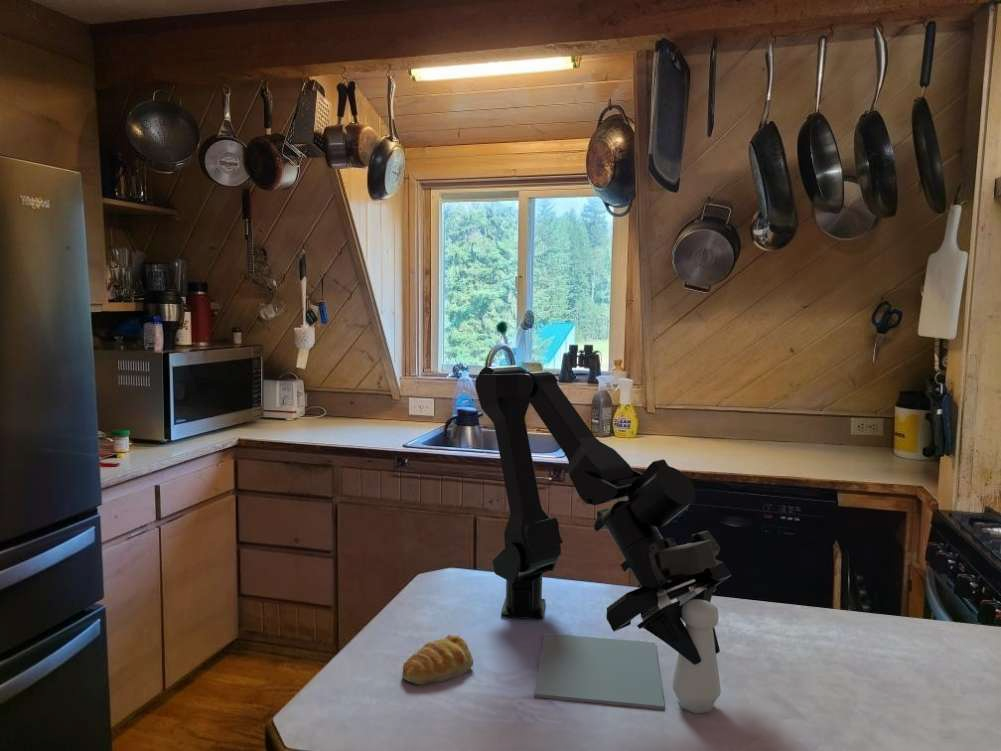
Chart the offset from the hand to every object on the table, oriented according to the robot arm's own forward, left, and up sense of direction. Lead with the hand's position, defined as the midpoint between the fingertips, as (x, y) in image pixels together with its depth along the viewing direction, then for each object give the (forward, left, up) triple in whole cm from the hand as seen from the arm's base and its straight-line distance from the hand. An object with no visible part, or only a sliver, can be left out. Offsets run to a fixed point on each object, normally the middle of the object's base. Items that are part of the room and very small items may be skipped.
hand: (707, 658), depth 86 cm
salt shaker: (-1, -1, -7) cm, 7 cm away
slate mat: (-7, -13, -7) cm, 16 cm away
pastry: (-4, -34, -7) cm, 35 cm away
